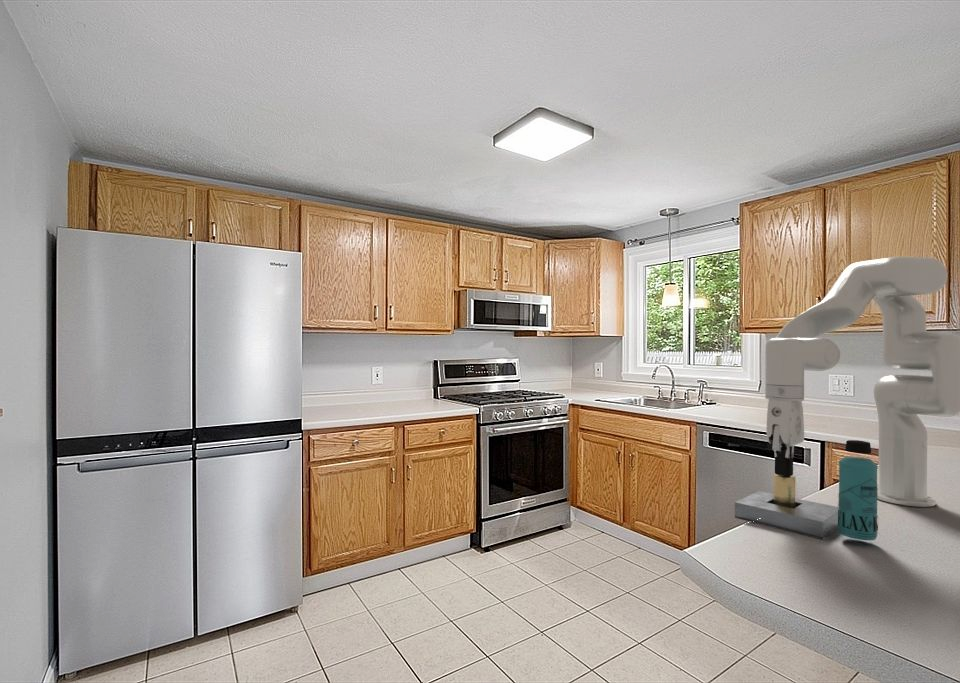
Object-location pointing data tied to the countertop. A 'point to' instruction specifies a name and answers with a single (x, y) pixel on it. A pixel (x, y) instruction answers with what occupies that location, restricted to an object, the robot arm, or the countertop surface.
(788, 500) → the bushing
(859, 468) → the beverage bottle
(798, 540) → the countertop surface
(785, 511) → the jig
